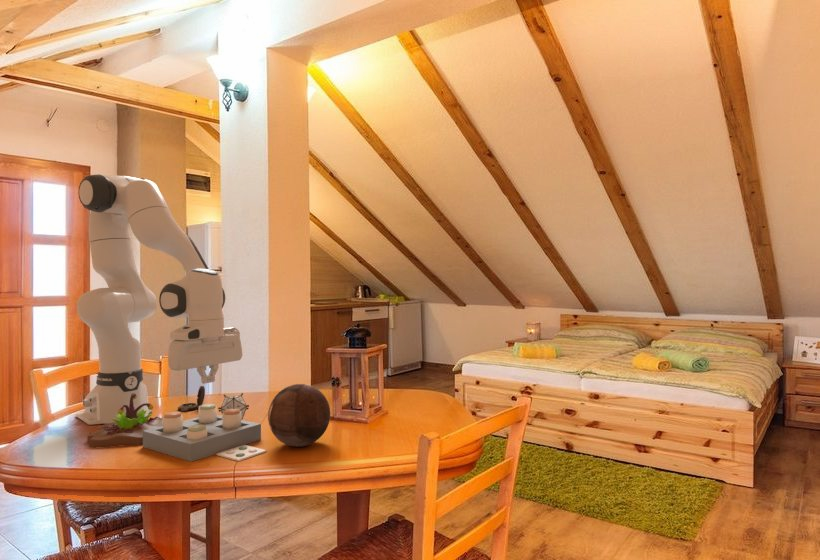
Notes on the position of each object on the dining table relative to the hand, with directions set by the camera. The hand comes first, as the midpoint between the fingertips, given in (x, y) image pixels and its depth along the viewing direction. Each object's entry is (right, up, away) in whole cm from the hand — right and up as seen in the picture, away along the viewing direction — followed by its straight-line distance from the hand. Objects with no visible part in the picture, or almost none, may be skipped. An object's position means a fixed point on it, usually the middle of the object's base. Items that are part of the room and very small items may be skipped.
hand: (208, 382), depth 146 cm
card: (+13, -14, -15) cm, 25 cm away
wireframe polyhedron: (+3, -14, +13) cm, 19 cm away
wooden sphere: (+26, -14, -9) cm, 31 cm away
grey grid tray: (+1, -14, -7) cm, 16 cm away
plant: (-21, -15, +1) cm, 25 cm away
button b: (0, -12, 0) cm, 12 cm away
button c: (+2, -14, -14) cm, 19 cm away
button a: (-6, -12, -8) cm, 15 cm away
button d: (+8, -12, -5) cm, 15 cm away
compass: (-16, -14, +29) cm, 36 cm away
